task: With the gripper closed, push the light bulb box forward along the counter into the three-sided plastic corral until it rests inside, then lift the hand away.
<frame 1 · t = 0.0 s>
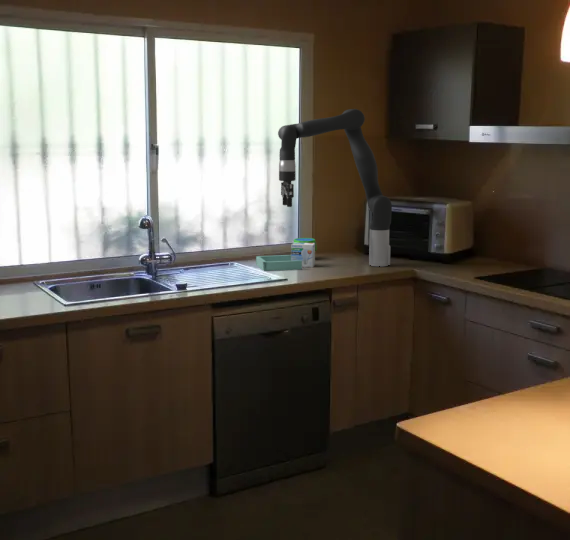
hand: (287, 206, 345), 29 cm above the counter, tool pointing down, fingers open, 8 cm apart
light bulb box: (303, 266, 359), on the counter
corral: (278, 266, 356), on the counter
snack cup: (304, 259, 378), on the counter
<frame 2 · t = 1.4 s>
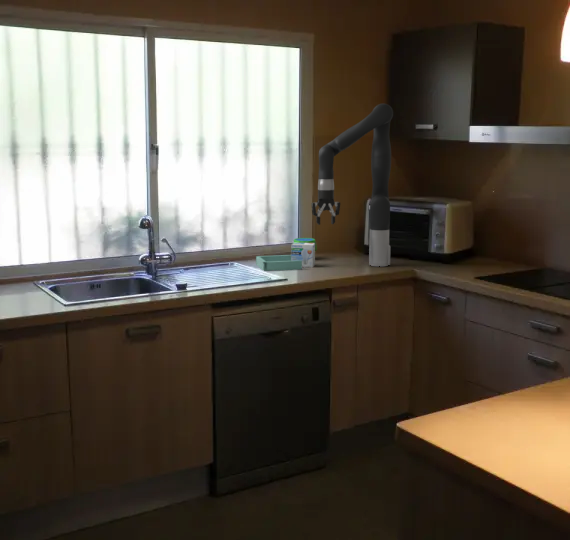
hand: (325, 224, 358), 20 cm above the counter, tool pointing down, fingers open, 6 cm apart
nothing on the counter moved.
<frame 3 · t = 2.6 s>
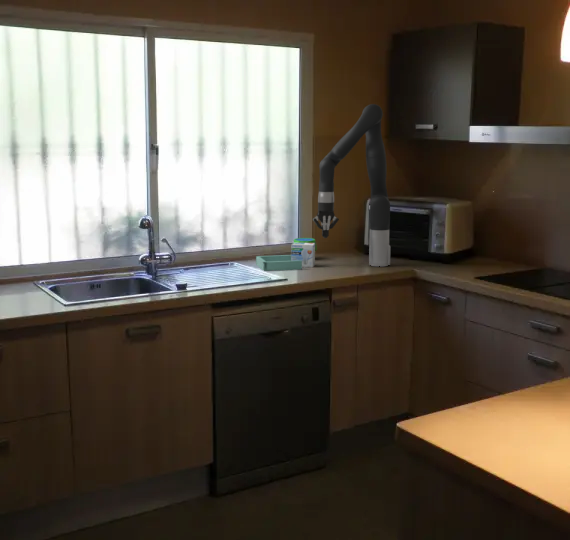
hand: (325, 237, 359), 13 cm above the counter, tool pointing down, fingers closed
nothing on the counter moved.
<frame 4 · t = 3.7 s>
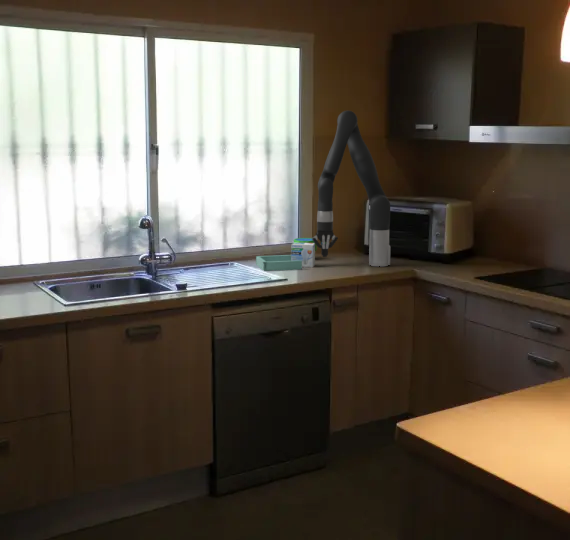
hand: (324, 256, 361), 4 cm above the counter, tool pointing down, fingers closed
nothing on the counter moved.
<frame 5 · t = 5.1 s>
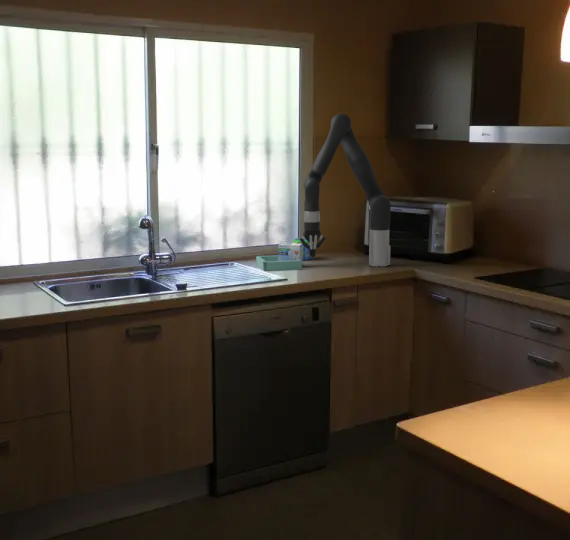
hand: (312, 256, 359), 4 cm above the counter, tool pointing down, fingers closed
light bulb box: (290, 266, 358), on the counter, touching hand
everything else where it was.
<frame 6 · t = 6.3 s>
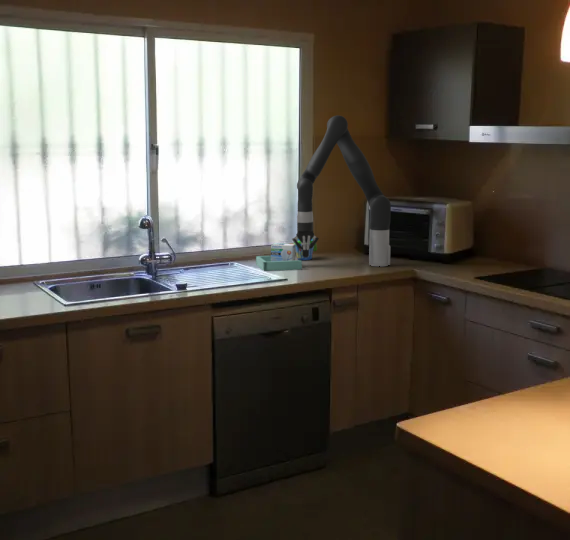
hand: (305, 257, 358), 4 cm above the counter, tool pointing down, fingers closed
light bulb box: (283, 267, 357), on the counter, touching hand
everything else where it was.
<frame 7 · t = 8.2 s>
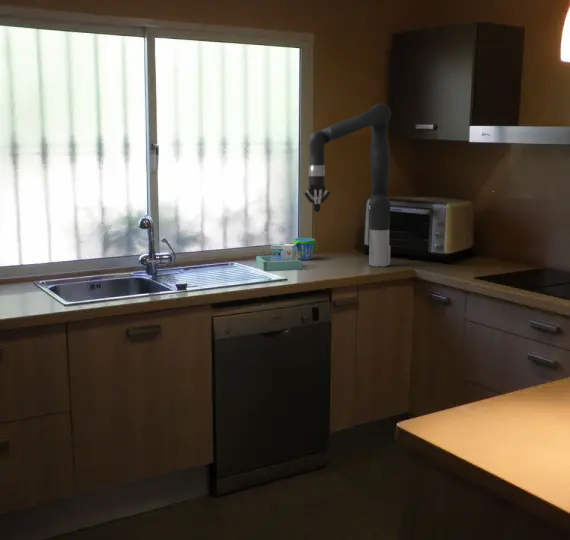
hand: (316, 211, 357), 25 cm above the counter, tool pointing down, fingers closed
light bulb box: (283, 267, 357), on the counter
everything else where it was.
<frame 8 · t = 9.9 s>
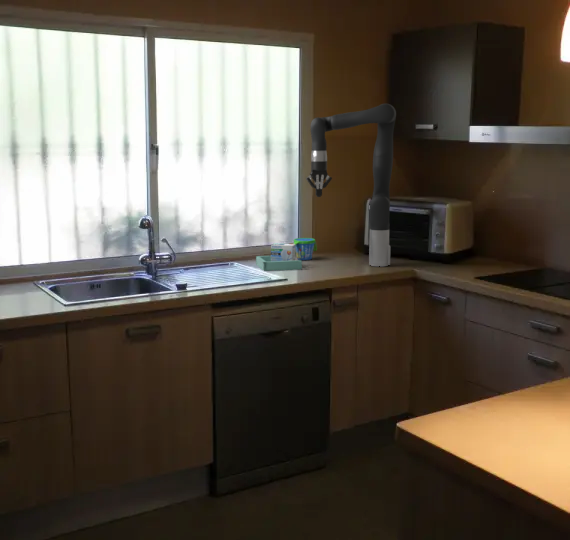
hand: (318, 196, 362), 32 cm above the counter, tool pointing down, fingers closed
nothing on the counter moved.
at the end: light bulb box inside the target area (1.6 cm from its centre), on the counter; light bulb box tilted 0°; light bulb box touching counter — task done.
